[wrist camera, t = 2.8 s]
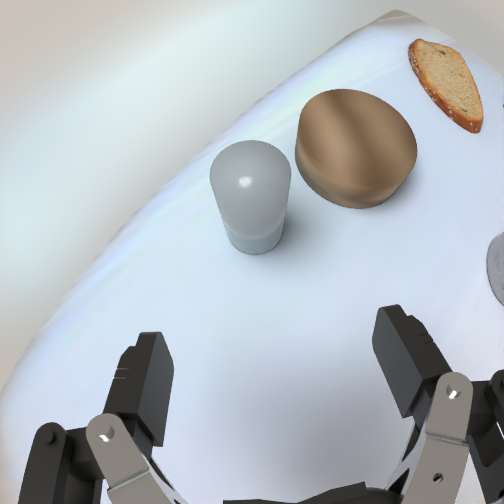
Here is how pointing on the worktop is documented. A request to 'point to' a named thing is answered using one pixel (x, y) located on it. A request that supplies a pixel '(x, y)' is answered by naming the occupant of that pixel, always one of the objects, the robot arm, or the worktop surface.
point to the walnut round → (353, 148)
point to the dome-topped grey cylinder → (251, 194)
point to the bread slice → (447, 82)
